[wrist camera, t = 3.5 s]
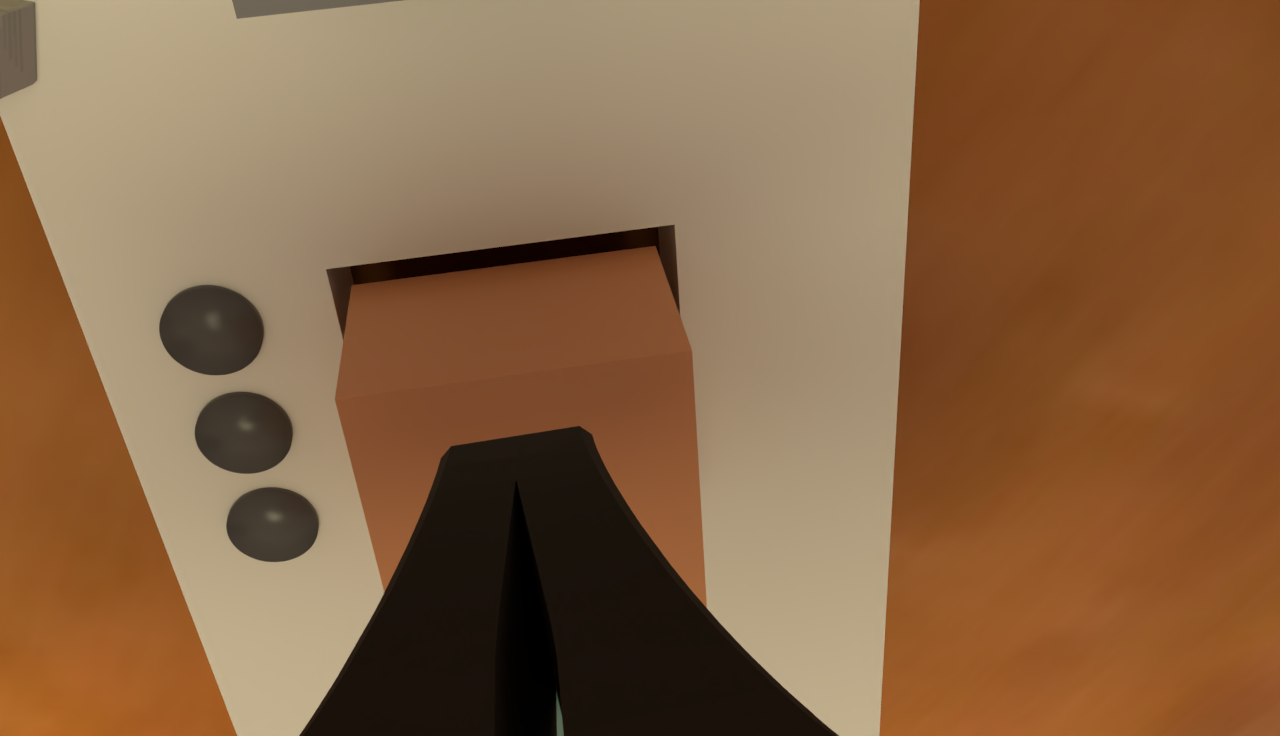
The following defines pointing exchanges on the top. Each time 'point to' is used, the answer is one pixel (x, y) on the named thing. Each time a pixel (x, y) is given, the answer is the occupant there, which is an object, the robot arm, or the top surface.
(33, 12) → the caliper
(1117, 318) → the top surface
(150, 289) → the button panel
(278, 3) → the button two
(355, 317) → the button three
